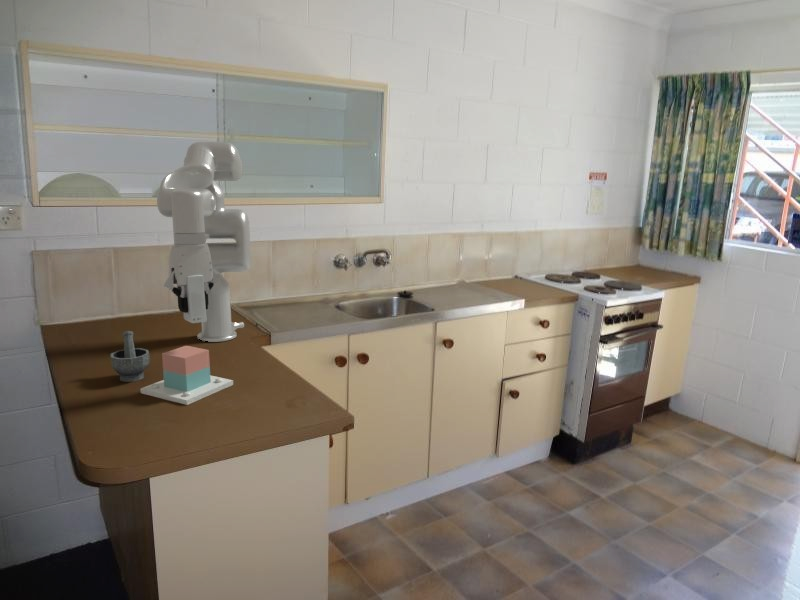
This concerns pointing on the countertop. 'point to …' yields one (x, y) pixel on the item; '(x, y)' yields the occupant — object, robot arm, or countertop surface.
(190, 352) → the block on square base
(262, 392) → the countertop surface
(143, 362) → the mortar and pestle
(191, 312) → the skincare box
